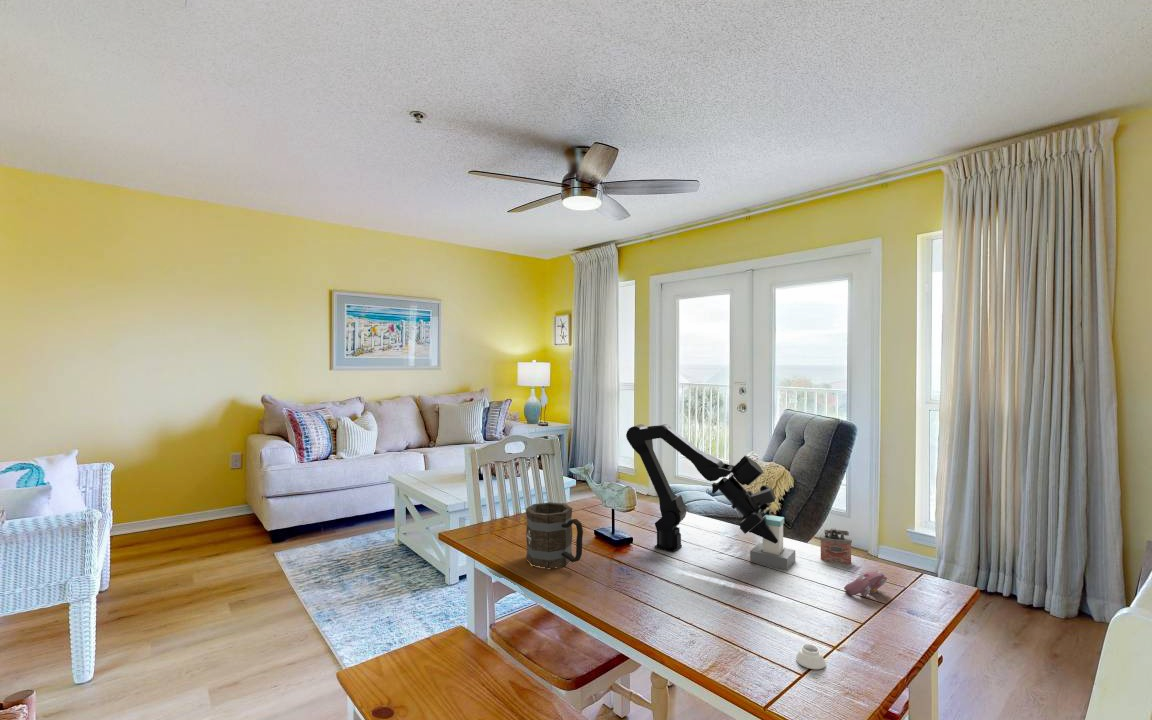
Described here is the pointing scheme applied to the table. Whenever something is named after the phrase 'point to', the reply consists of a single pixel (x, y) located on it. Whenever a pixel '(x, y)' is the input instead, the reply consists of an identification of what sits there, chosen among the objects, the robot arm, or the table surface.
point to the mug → (551, 535)
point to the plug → (777, 529)
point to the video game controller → (866, 583)
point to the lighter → (836, 546)
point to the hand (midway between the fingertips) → (778, 539)
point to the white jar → (810, 657)
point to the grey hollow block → (772, 557)
